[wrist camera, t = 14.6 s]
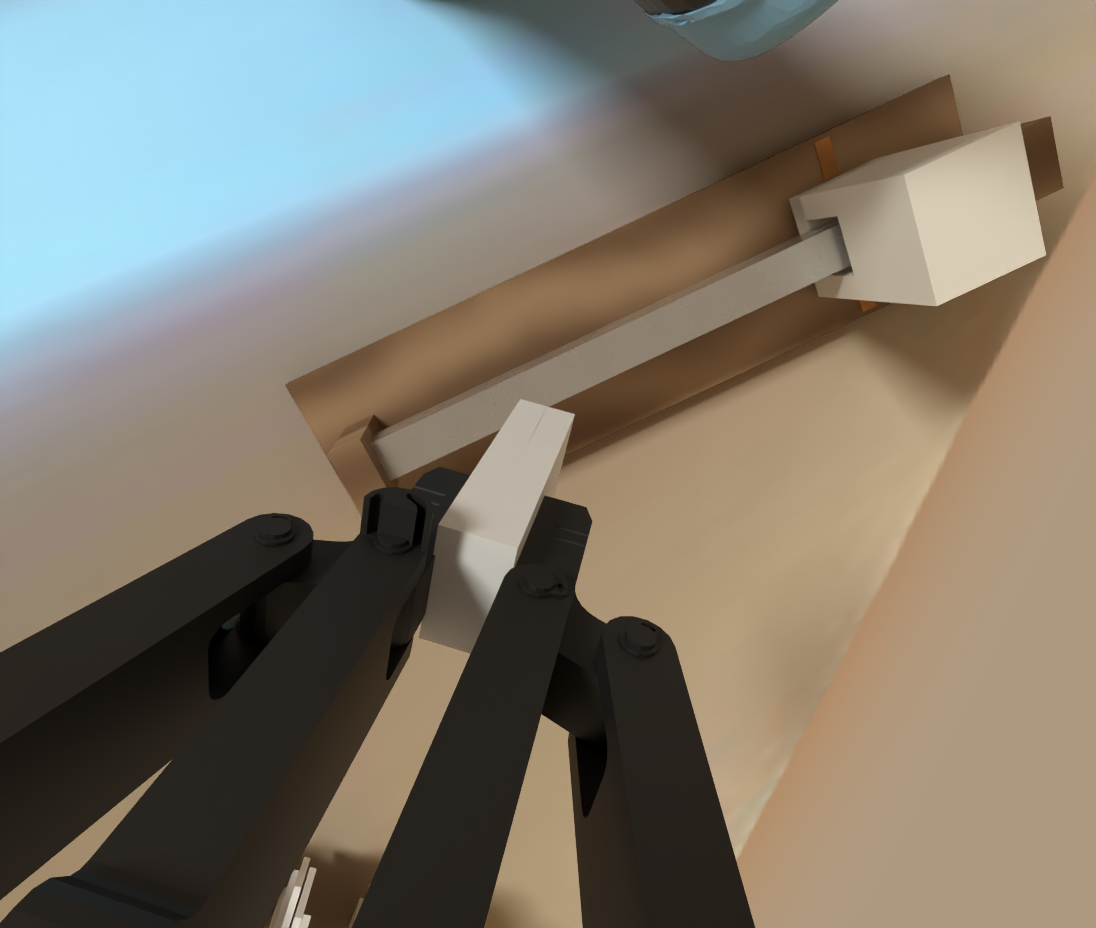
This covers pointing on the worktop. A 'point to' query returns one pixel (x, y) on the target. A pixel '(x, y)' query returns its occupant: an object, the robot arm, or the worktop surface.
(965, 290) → the sleeve
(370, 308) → the worktop surface
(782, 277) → the steel rod
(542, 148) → the worktop surface
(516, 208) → the worktop surface
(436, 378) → the walnut board
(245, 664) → the robot arm
